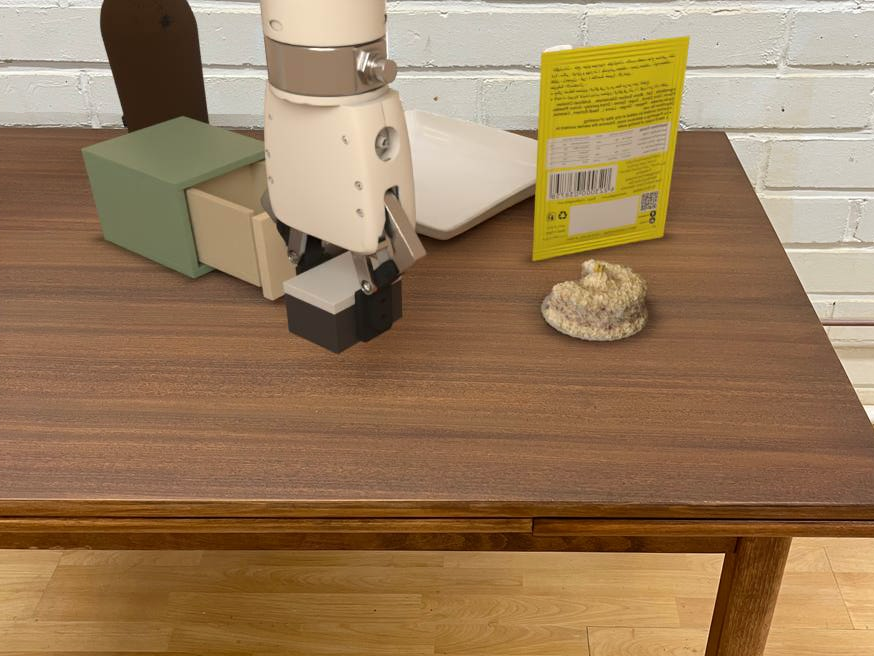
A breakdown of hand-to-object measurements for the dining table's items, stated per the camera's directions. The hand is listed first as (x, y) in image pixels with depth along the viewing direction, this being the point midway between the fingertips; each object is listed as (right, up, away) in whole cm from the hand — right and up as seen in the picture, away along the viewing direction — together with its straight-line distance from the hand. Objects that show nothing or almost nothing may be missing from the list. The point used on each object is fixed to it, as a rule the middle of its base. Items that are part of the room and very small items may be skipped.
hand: (346, 319), depth 70 cm
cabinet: (-20, +14, +30) cm, 39 cm away
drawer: (-9, +9, +23) cm, 27 cm away
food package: (+22, +12, +29) cm, 38 cm away
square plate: (+4, +22, +41) cm, 46 cm away
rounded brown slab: (-28, +28, +48) cm, 62 cm away
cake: (+21, +3, +18) cm, 28 cm away
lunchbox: (0, 0, 0) cm, 0 cm away
